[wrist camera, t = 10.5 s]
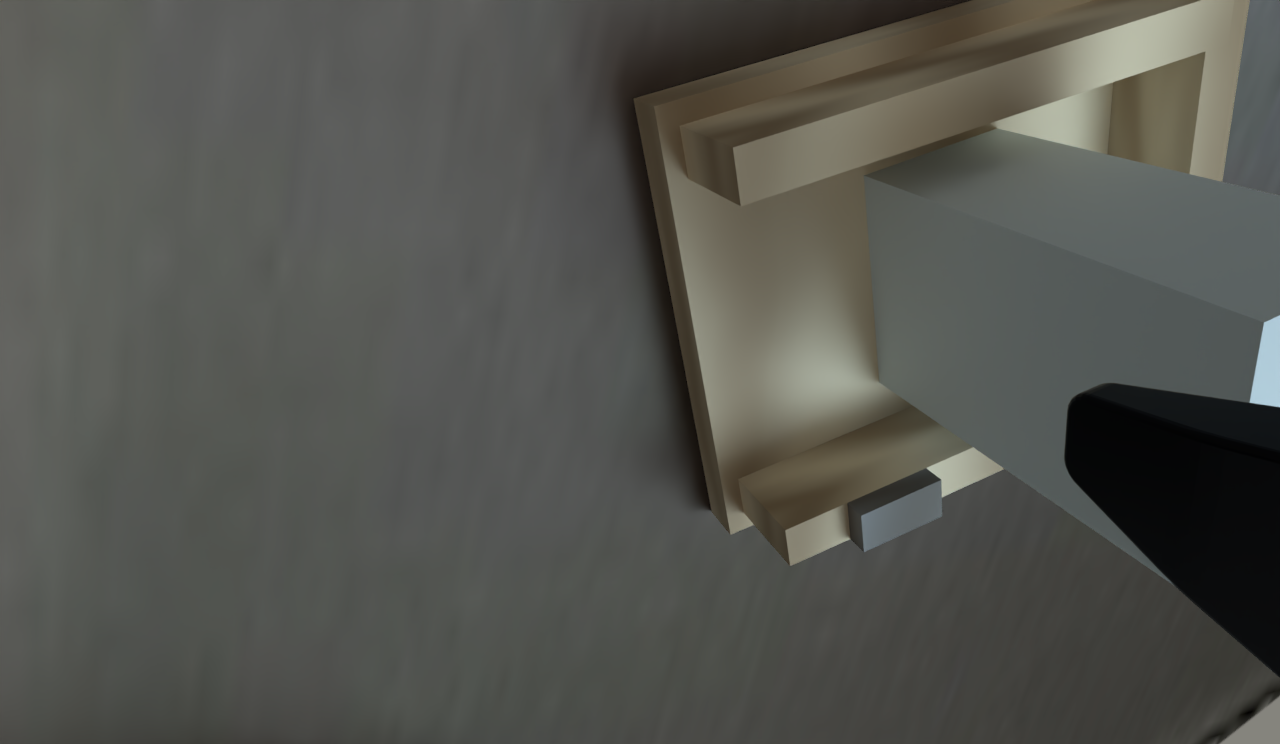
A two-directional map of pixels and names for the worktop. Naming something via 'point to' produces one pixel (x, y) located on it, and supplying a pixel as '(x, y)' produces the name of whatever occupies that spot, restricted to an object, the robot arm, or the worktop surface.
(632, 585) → the worktop surface
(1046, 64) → the wooden tray
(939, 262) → the pale blue box
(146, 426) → the worktop surface
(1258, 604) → the robot arm
